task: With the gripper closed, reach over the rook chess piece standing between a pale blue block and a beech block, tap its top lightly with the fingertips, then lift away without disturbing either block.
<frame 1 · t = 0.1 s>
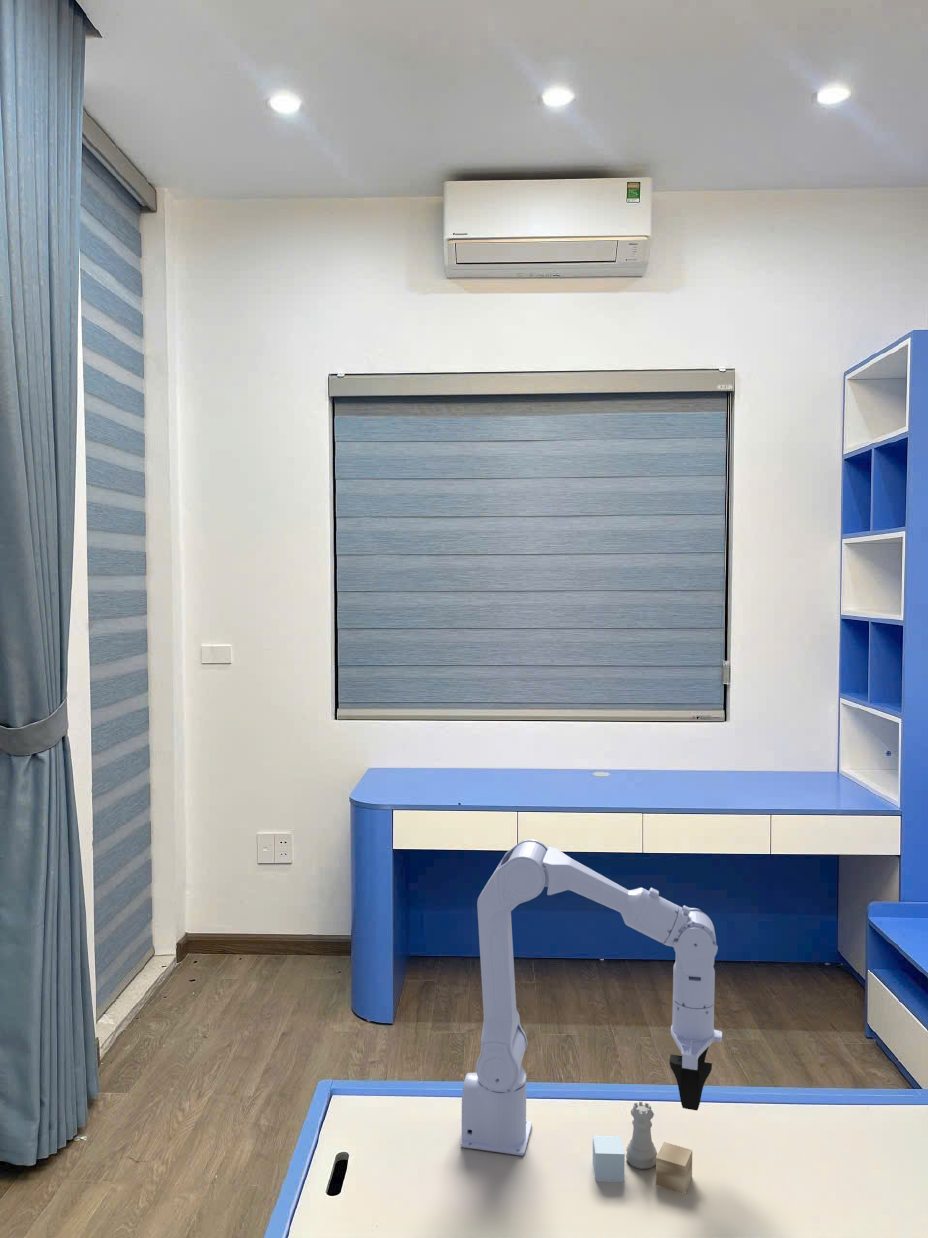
hand: (691, 1093, 131), 10 cm above the table, tool pointing down, fingers open, 7 cm apart
rook chess piece: (641, 1162, 132), on the table
pale blue block: (608, 1172, 129), on the table
beech block: (673, 1182, 127), on the table
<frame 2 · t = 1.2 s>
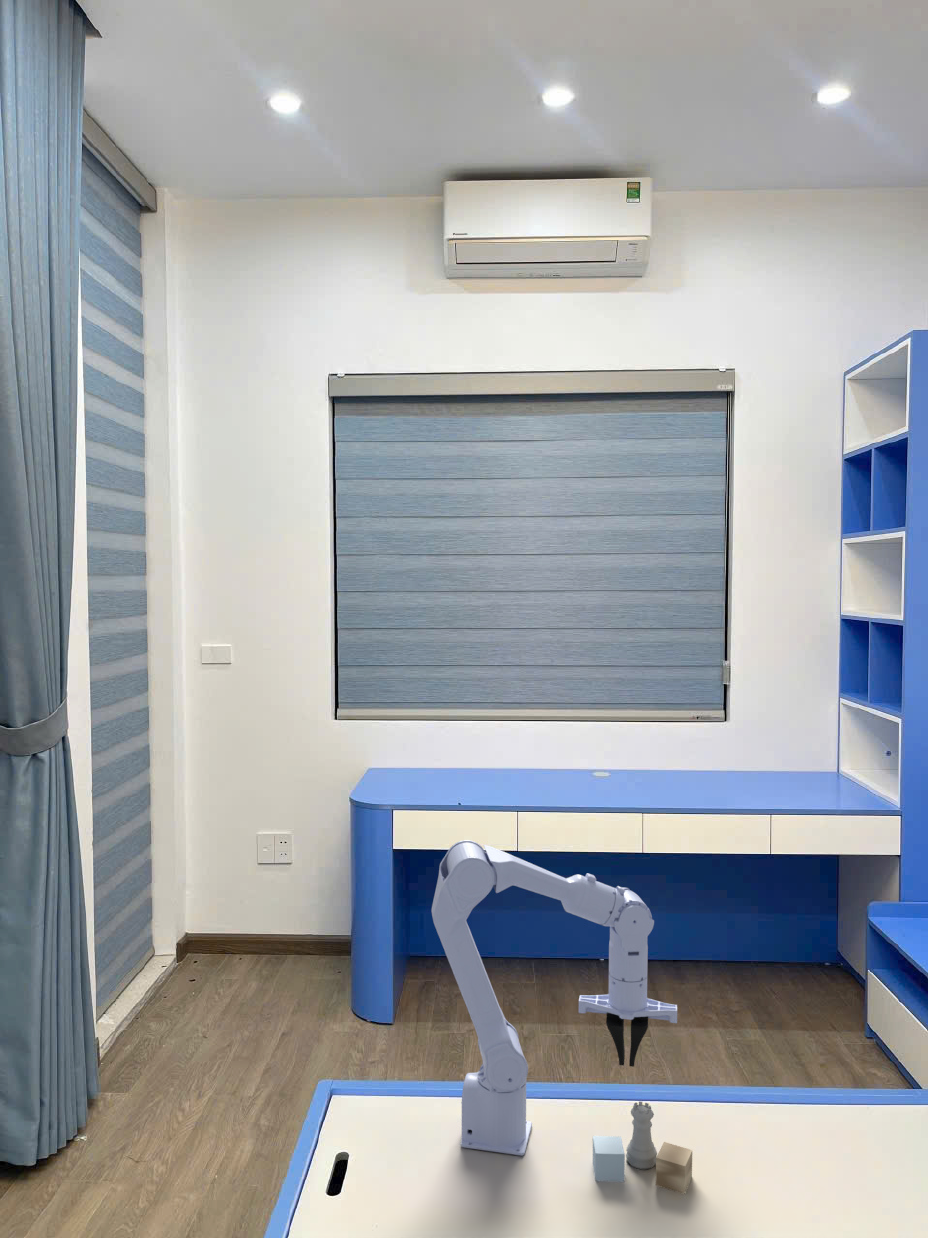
hand: (626, 1062, 139), 10 cm above the table, tool pointing down, fingers closed
nothing on the table moved.
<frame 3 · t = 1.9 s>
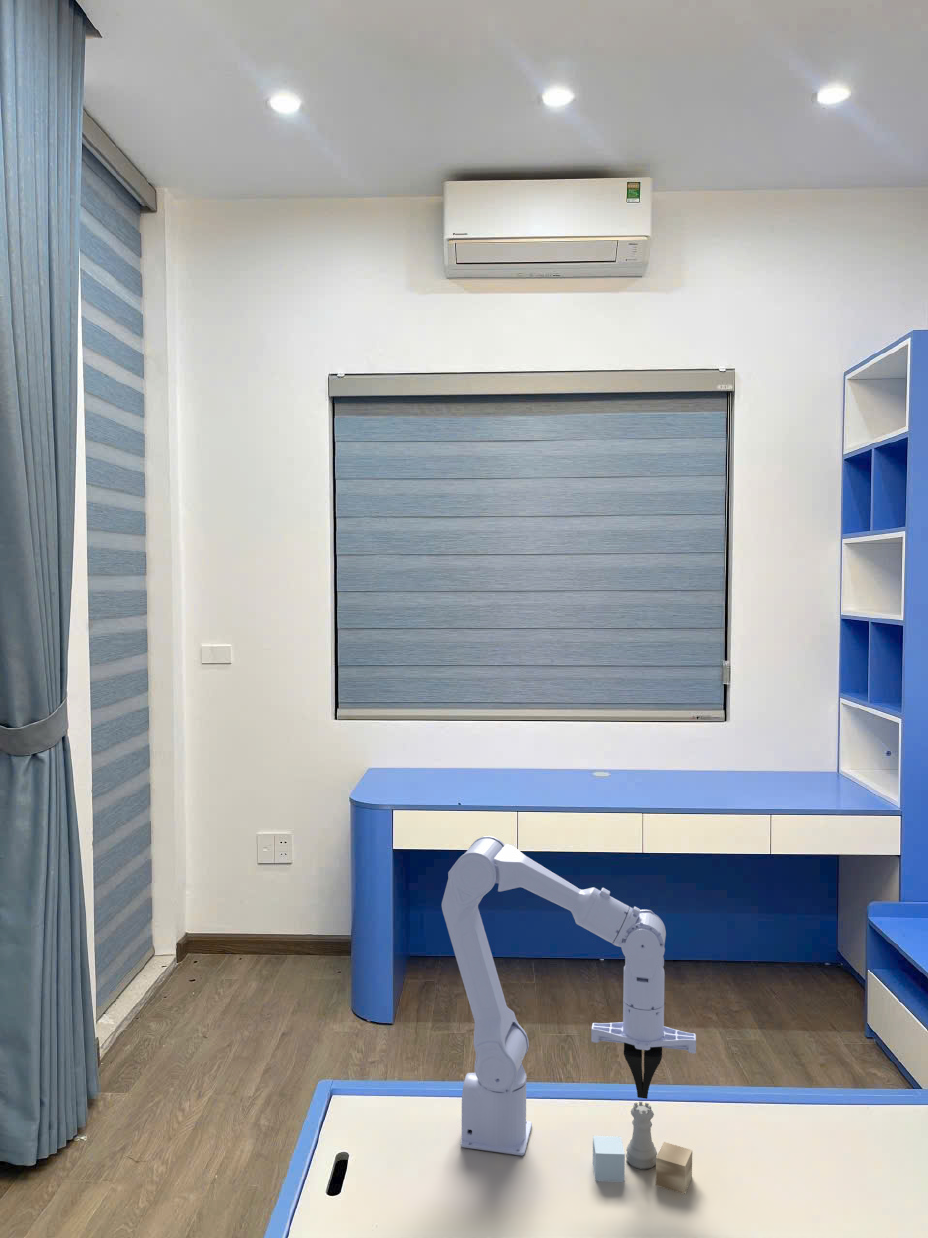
hand: (642, 1094, 131), 10 cm above the table, tool pointing down, fingers closed
nothing on the table moved.
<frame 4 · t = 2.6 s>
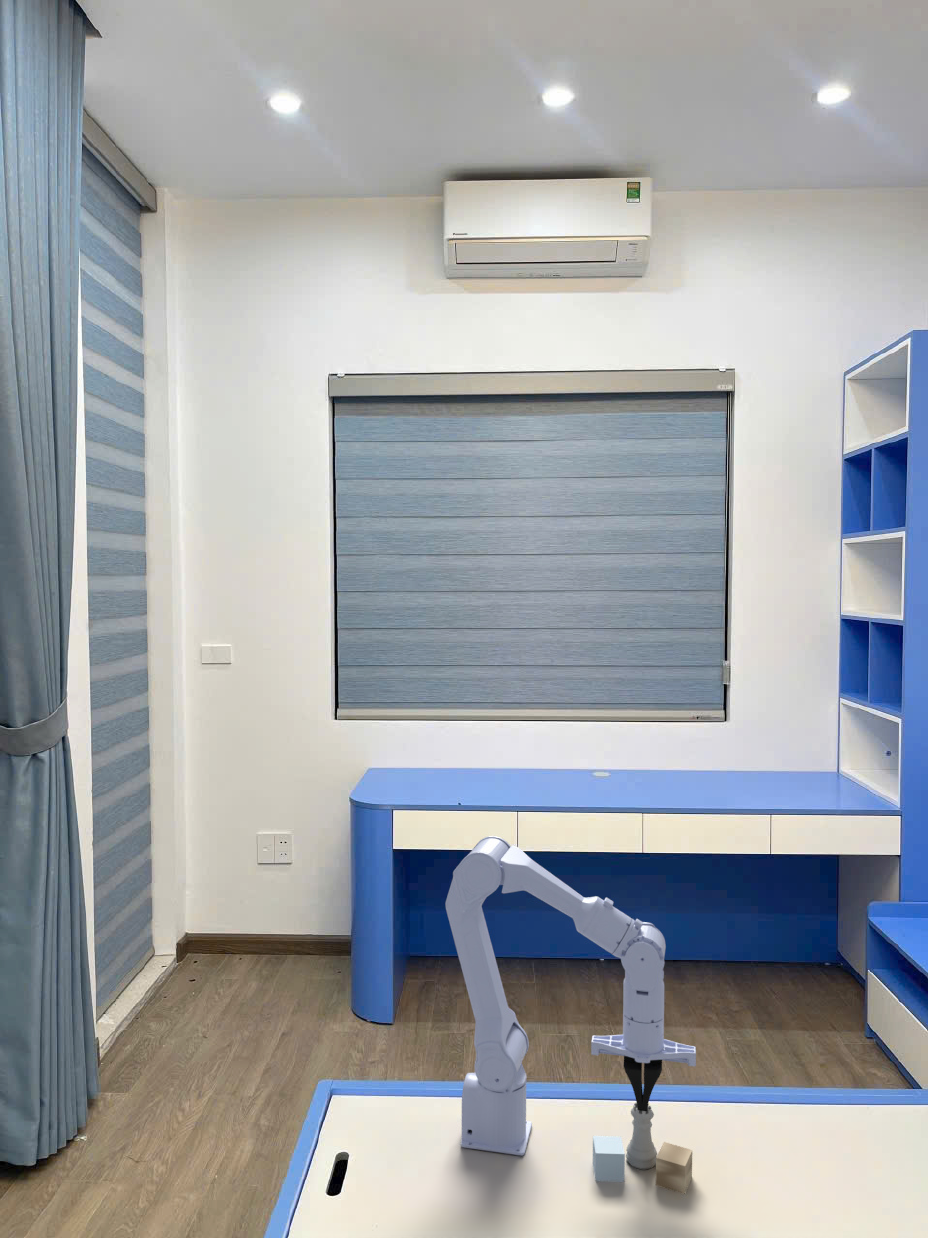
hand: (642, 1107, 131), 8 cm above the table, tool pointing down, fingers closed, pressing on rook chess piece
rook chess piece: (641, 1162, 132), on the table, touching gripper
everything else where it was.
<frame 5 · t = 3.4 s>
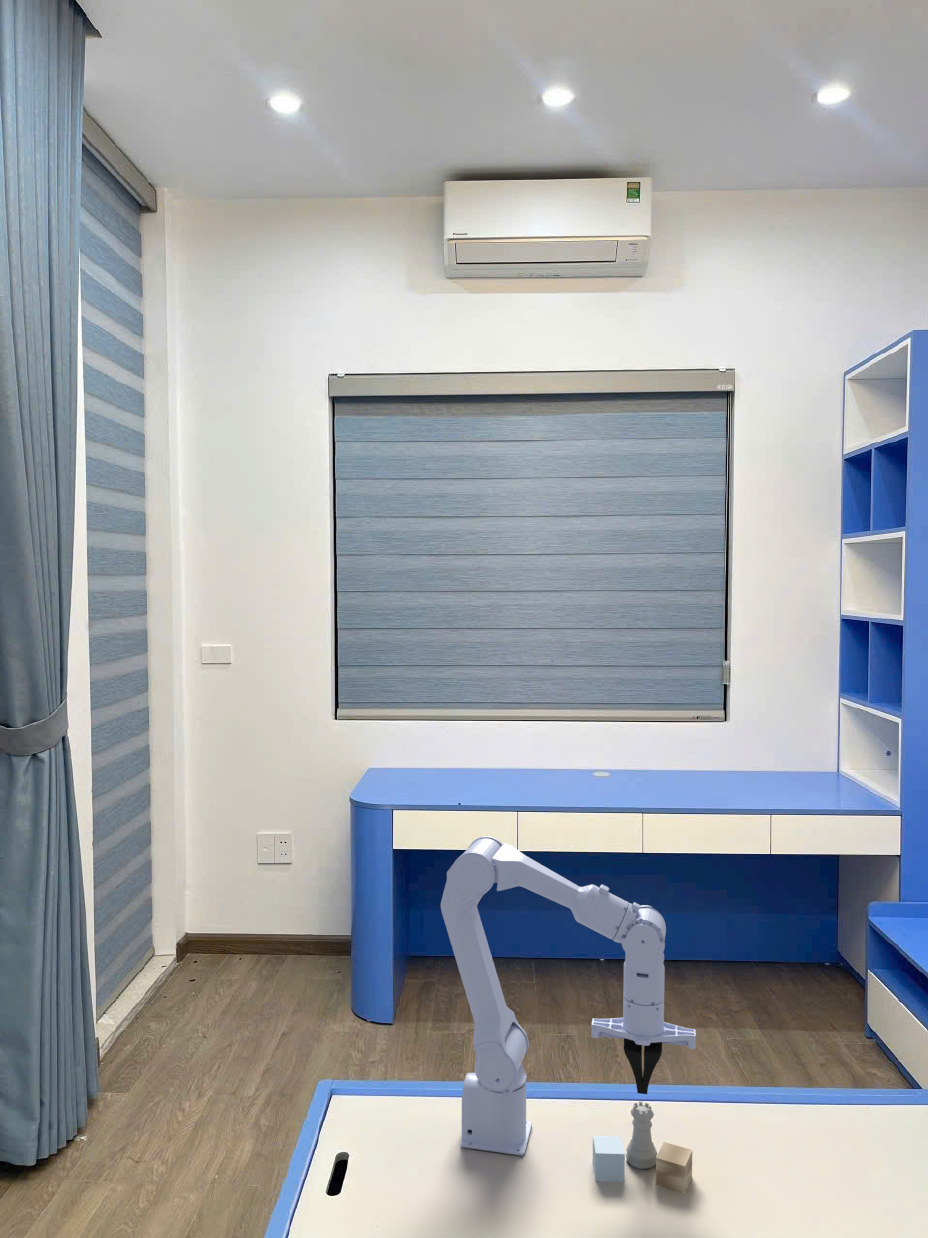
hand: (642, 1090, 131), 10 cm above the table, tool pointing down, fingers closed
rook chess piece: (641, 1162, 132), on the table
everything else where it was.
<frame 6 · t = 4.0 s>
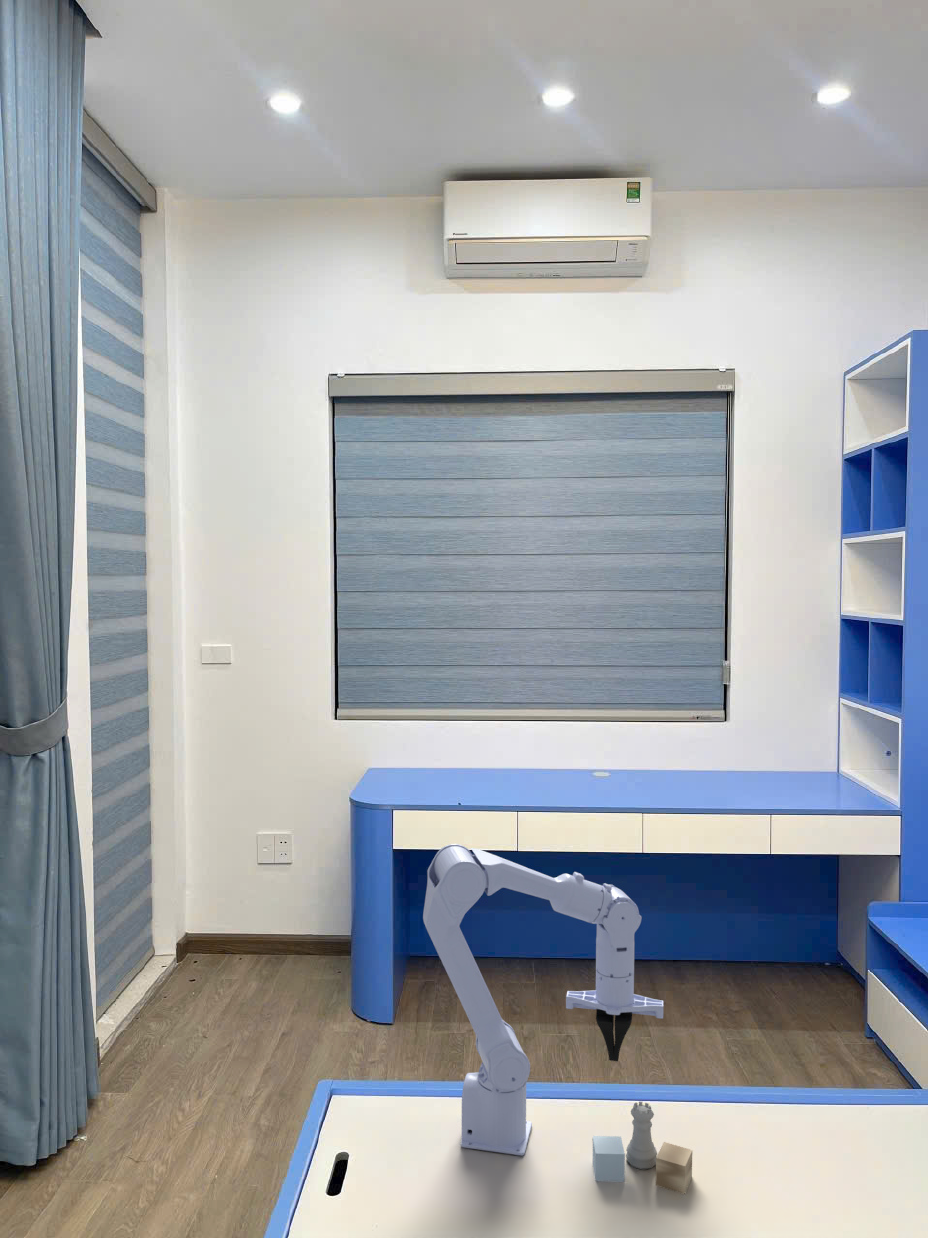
hand: (613, 1057, 140), 10 cm above the table, tool pointing down, fingers closed
nothing on the table moved.
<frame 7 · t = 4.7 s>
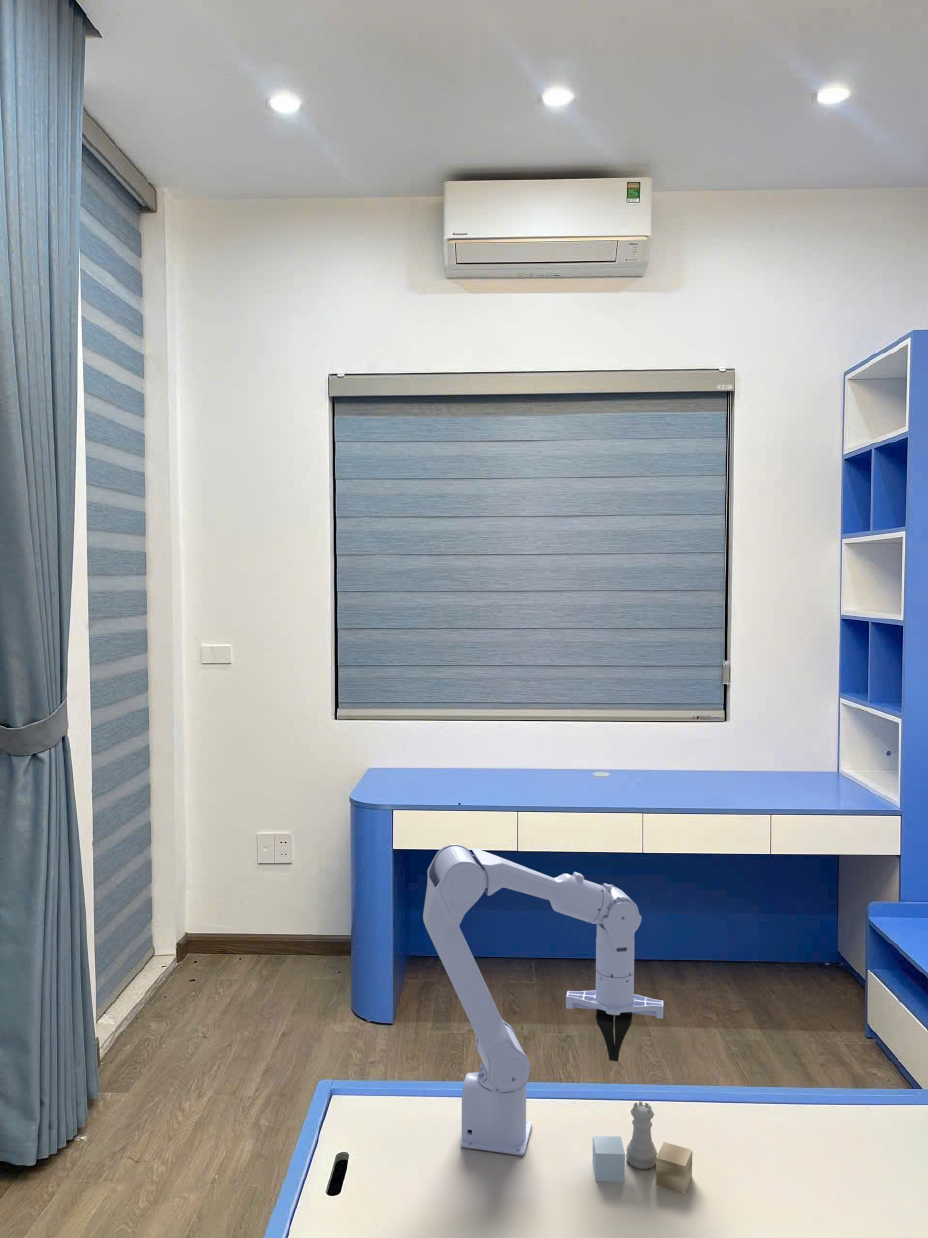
hand: (613, 1057, 140), 10 cm above the table, tool pointing down, fingers closed
nothing on the table moved.
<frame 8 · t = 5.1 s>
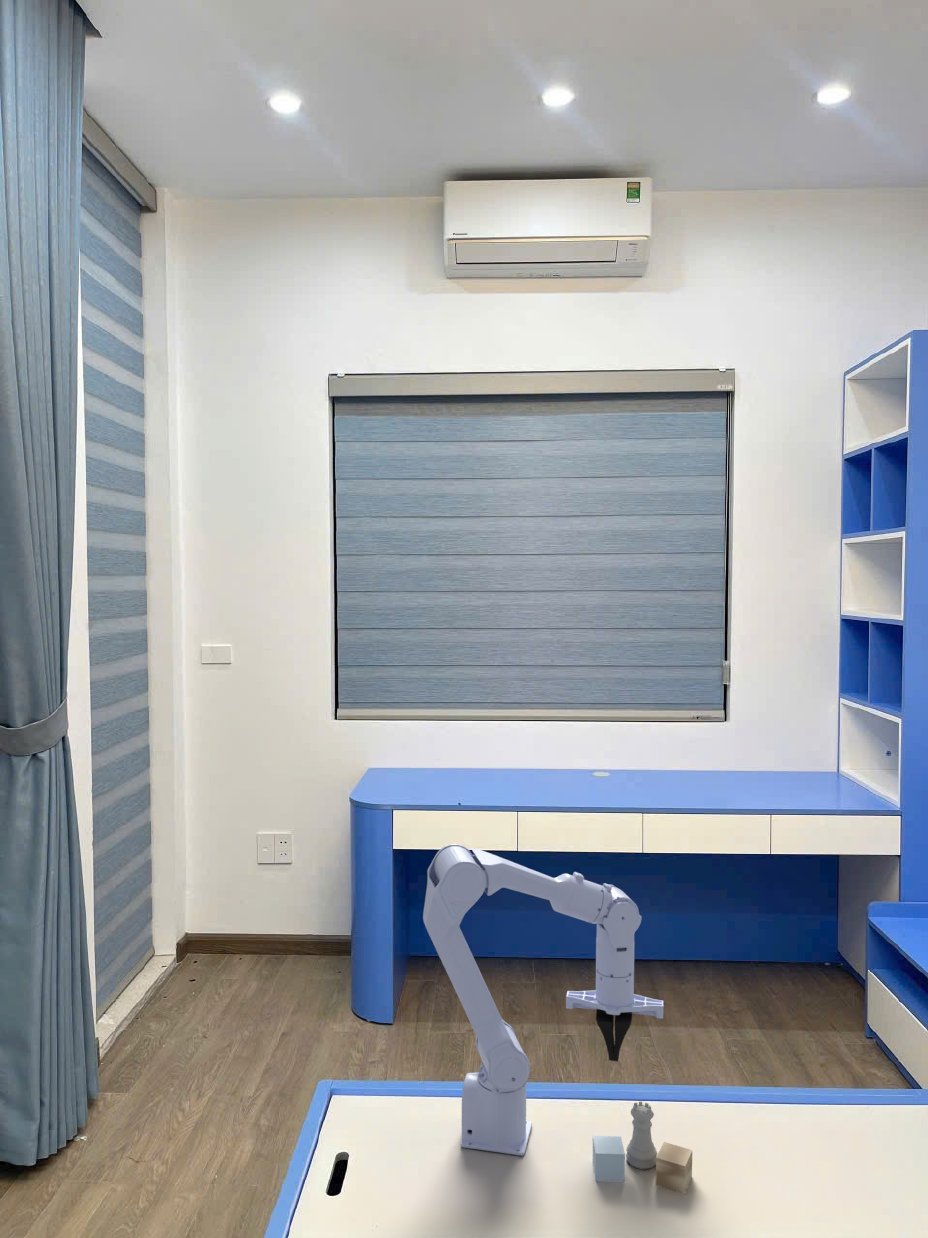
hand: (613, 1057, 140), 10 cm above the table, tool pointing down, fingers closed
nothing on the table moved.
at the end: rook chess piece tilted 0°; rook chess piece moved 0.2 cm from its start; pale blue block moved 0.1 cm from its start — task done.
